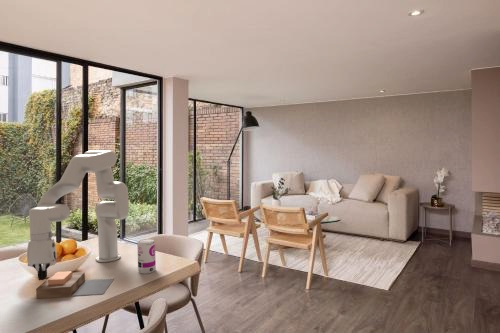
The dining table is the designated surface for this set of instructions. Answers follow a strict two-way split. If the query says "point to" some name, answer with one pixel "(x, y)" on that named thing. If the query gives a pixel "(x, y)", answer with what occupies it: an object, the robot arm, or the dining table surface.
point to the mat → (93, 287)
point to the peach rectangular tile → (60, 278)
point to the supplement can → (146, 256)
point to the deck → (61, 287)
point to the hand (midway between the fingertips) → (42, 278)
